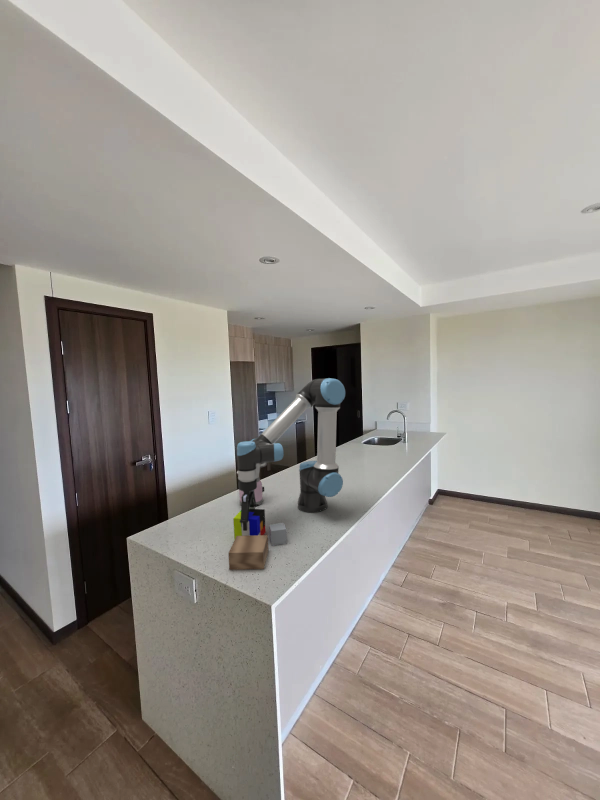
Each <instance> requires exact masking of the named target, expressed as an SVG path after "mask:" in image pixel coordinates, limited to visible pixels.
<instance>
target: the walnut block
mask: <svg viewBox="0 0 600 800" xmlns="http://www.w3.org/2000/svg"><path fill="white" fill-rule="evenodd" d="M268 554H269V536H268V535H267V534H264V535H254V536H236V538H235V540H234V539H233V543H232V544H231V547H230V549H229V551H228V566H229V568H228V570H229V571H232V570H234V571H235V570H236V571H237V570H265V565H266V562H267V558H268Z"/></svg>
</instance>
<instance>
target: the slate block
mask: <svg viewBox="0 0 600 800" xmlns="http://www.w3.org/2000/svg"><path fill="white" fill-rule="evenodd" d="M268 526H269V527H268V528H269V529H268V530H269V541H270V544H271V546H272V547H275V546H281V545H287V544H288V543H287V541H288V539H287V528H286V525H285V523H284V522H279V523H273V524H272V523H270V524H268Z"/></svg>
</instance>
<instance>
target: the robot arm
mask: <svg viewBox="0 0 600 800" xmlns="http://www.w3.org/2000/svg"><path fill="white" fill-rule="evenodd" d="M345 397H346V389H345V386H344V384H343V383H342V381H340V380H339V379H336V378H330V377H328V378H315V379H312V380H310V381H309V382H308V383H306V385H304V387H302V388H301V390H299V391H298V392H297V393H296V394H295V399H294V400H293V401H291V403H290V404H289V405H287V406H286V408H285V409H284V410H283V411H282V412H281V413H280V414H279V415H278V416H277V417H276V418H275V419H274V420H273V422H272V423H270V424H269V426H267V428H266V429H265V430H264V431H263V432H261V433H260V434H259V436H257V438H252V439H251V440H249V441H248V440H247V441H246V440H245V441H240V442H239V443H237V445H236V446H237V447H236V457H237V459H236V461H237V471H236V474H237V476H238V477H237V479H238V481H237V483H238V491H239V490H241V491H243V492H244V494H243V495H242V497H241V498H242V504H240V506H241V507H240V508H241V509H240V511H241V520H240V522H241V523H242V536H250V533H249V521H248V518H249V509H256V507H258V504H256V500H255V494H254V490H255V489H256V488H257V480H256V478H257V472H256V464H264V463H267V464H268V463H273V462H275V463H276V462H279V461H281V460H282V459H283V458H284V455H285V453H284V447H283V445H282V444H281V443H278V442H277V441H278V440H279V439H280V438H281V437H282V436H283V435H284V434H285V433H286V432H287V431H288V430H289V428H291V426H292V425H293V424H294V423H295V422H296V421H297V420H298V419H299V418H300V417H301V416H302V415H303V414H304V413H305V411H306V410H307V409H310V410H311V409H312V407H313V406H314V408H315V409H316V411H317V412H318V413H317V446H316V447H317V448H316V449H317V450H316V451H317V453H316V455H317V456H316V460H308V461H304V462H303V461H302V462H301V463H300V464H299V468H298V472H299V488H300V489H299V490H300V493H299V496H298V499H297V500H298V501H297V509H298V510H299V511H302V512H304V513H318V512H317V511H319V512H321V511H320V510H323V509H325V508H326V507H327V508H328V499H327V498H332V497H335V496H336V495H338V494H339V492H340V491H341V490H342V489H343V485H344V479H343V476H341V474H340V473H339V465H338V464H337V463H336V456H337V455H336V453H337V451H336V450H337V448H336V446H337V414H338V413H337V412H338V411H339V410H340V409H341V403H342V402H343V401H344V400H345ZM327 508H326V509H327ZM326 509H325V510H326ZM323 511H324V510H323Z"/></svg>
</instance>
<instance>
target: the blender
mask: <svg viewBox="0 0 600 800" xmlns="http://www.w3.org/2000/svg"><path fill="white" fill-rule="evenodd" d="M267 465H268V462H267V463H260V464H256V472H257V478H256V480H257V488H256V489H255V490H254V494H255V500H256V504H257V507H258V506H261V505H262V502H263V500H264V497H263V493H264V492H265V486H263V483H262V480H261V478H260V469H261V468H264V467H266V466H267ZM238 491H239V493H238V494H239V495H238V496H239V504H240V505H241V504H242V498H241V497H242V495H243V494H244V492H243V491H241V490H239V489H238Z"/></svg>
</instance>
